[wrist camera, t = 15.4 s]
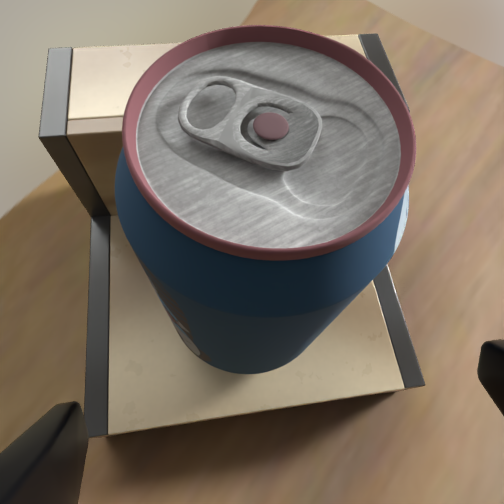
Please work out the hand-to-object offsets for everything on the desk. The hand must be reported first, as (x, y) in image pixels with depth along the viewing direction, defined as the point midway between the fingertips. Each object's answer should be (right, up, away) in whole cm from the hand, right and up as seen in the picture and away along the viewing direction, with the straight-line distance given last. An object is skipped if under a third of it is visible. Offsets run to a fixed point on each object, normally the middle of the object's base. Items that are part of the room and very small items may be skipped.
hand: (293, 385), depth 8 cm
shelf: (-2, +2, +14) cm, 14 cm away
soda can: (-1, 0, +10) cm, 10 cm away
